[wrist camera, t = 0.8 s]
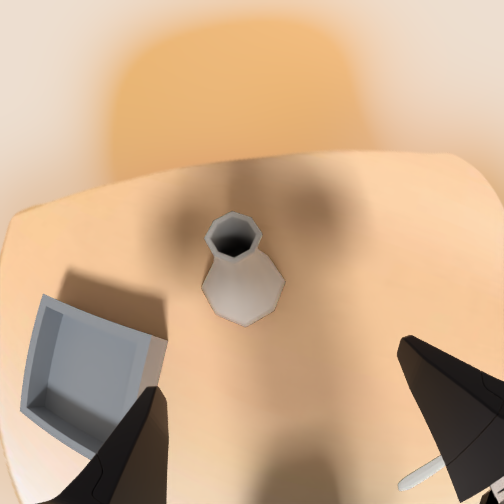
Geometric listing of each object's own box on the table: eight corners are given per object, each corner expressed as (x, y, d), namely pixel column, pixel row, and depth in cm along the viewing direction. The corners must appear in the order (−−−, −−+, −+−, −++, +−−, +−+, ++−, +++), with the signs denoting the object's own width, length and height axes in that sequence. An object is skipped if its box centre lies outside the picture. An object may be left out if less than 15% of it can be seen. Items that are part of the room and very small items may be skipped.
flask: (246, 342, 23) (237, 324, 14) (188, 289, 25) (149, 242, 16) (299, 281, 25) (320, 229, 16) (240, 235, 27) (230, 168, 18)
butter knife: (396, 475, 16) (400, 495, 15) (537, 355, 19) (541, 373, 18) (394, 473, 17) (398, 494, 16) (534, 356, 19) (538, 374, 18)
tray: (142, 464, 18) (123, 476, 14) (43, 410, 19) (20, 410, 16) (168, 340, 23) (151, 335, 19) (65, 304, 25) (43, 293, 21)
